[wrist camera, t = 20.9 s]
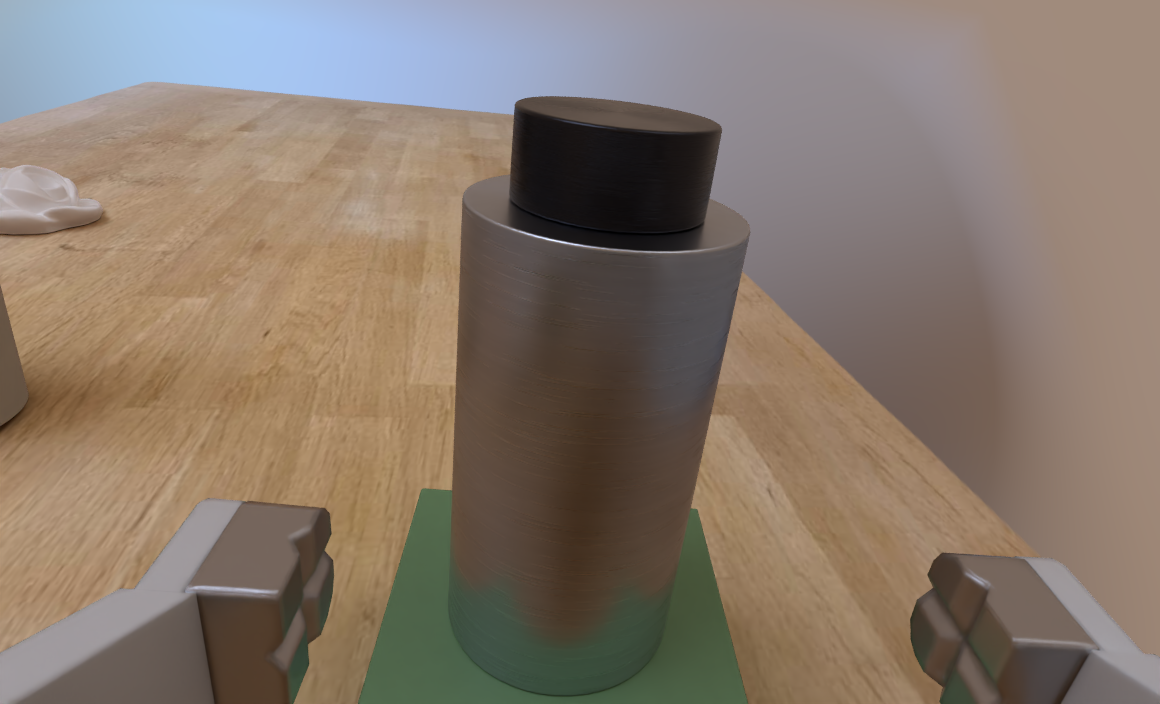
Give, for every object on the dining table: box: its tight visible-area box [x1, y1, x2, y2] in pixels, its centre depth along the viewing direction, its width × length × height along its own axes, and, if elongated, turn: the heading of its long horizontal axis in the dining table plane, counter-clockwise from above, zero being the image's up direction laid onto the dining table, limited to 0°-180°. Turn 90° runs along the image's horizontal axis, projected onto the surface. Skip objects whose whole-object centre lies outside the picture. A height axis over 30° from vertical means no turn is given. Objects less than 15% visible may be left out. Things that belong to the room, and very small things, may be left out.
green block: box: [358, 489, 748, 704], centre depth 22 cm, size 10×10×5 cm
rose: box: [0, 165, 103, 235], centre depth 59 cm, size 10×4×10 cm
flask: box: [448, 96, 750, 696], centre depth 18 cm, size 6×6×14 cm
